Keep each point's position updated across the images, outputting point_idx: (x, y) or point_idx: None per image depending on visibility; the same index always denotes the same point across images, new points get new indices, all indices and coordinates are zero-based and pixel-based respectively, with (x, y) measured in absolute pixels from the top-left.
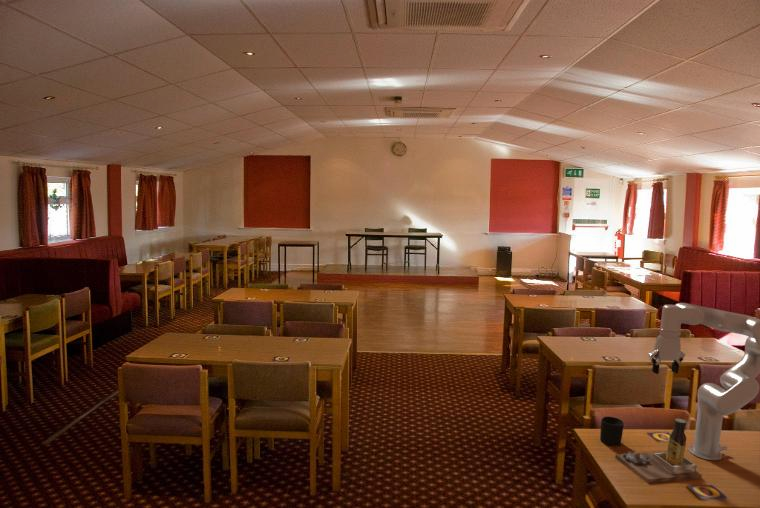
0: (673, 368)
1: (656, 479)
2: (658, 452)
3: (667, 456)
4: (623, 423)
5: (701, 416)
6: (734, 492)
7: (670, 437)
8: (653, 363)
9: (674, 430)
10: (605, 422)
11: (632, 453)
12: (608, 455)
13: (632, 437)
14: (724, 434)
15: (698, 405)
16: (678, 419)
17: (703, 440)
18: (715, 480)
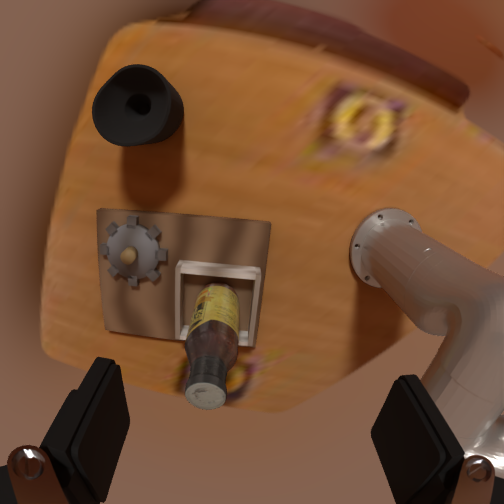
0: (400, 428)
1: (127, 332)
2: (237, 226)
3: (194, 306)
4: (166, 122)
5: (413, 298)
6: (275, 391)
7: (185, 342)
8: (36, 464)
9: (190, 364)
10: (93, 115)
11: (134, 230)
12: (92, 191)
13: (255, 98)
14: None
15: (443, 289)
16: (204, 389)
17: (378, 279)
18: (281, 353)
